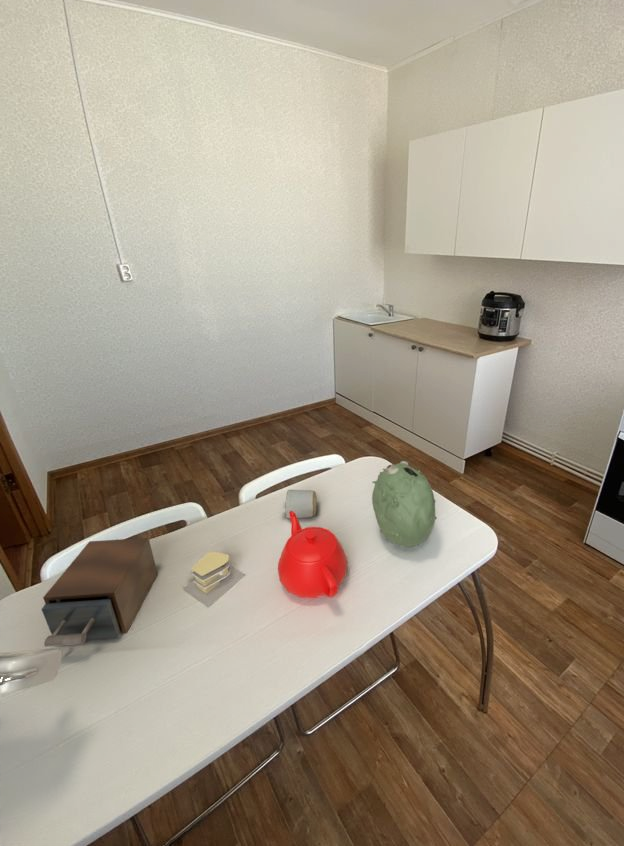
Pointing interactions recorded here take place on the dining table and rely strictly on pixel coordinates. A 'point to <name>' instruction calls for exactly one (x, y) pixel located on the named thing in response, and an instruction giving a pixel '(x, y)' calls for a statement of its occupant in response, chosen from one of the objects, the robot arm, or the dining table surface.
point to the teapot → (311, 562)
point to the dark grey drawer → (81, 620)
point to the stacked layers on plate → (212, 578)
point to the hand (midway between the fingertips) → (13, 661)
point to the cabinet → (110, 576)
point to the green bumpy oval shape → (404, 505)
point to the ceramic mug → (301, 503)
